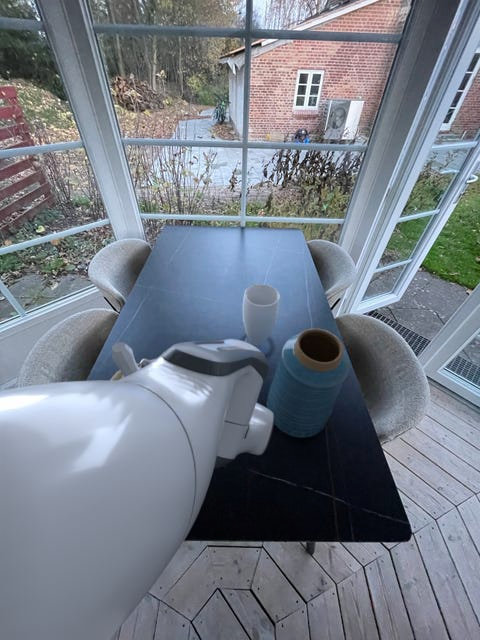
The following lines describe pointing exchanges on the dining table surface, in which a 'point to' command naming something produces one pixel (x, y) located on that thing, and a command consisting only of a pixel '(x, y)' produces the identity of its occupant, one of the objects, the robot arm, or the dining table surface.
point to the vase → (307, 382)
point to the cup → (260, 312)
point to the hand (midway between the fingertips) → (130, 376)
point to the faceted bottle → (124, 359)
